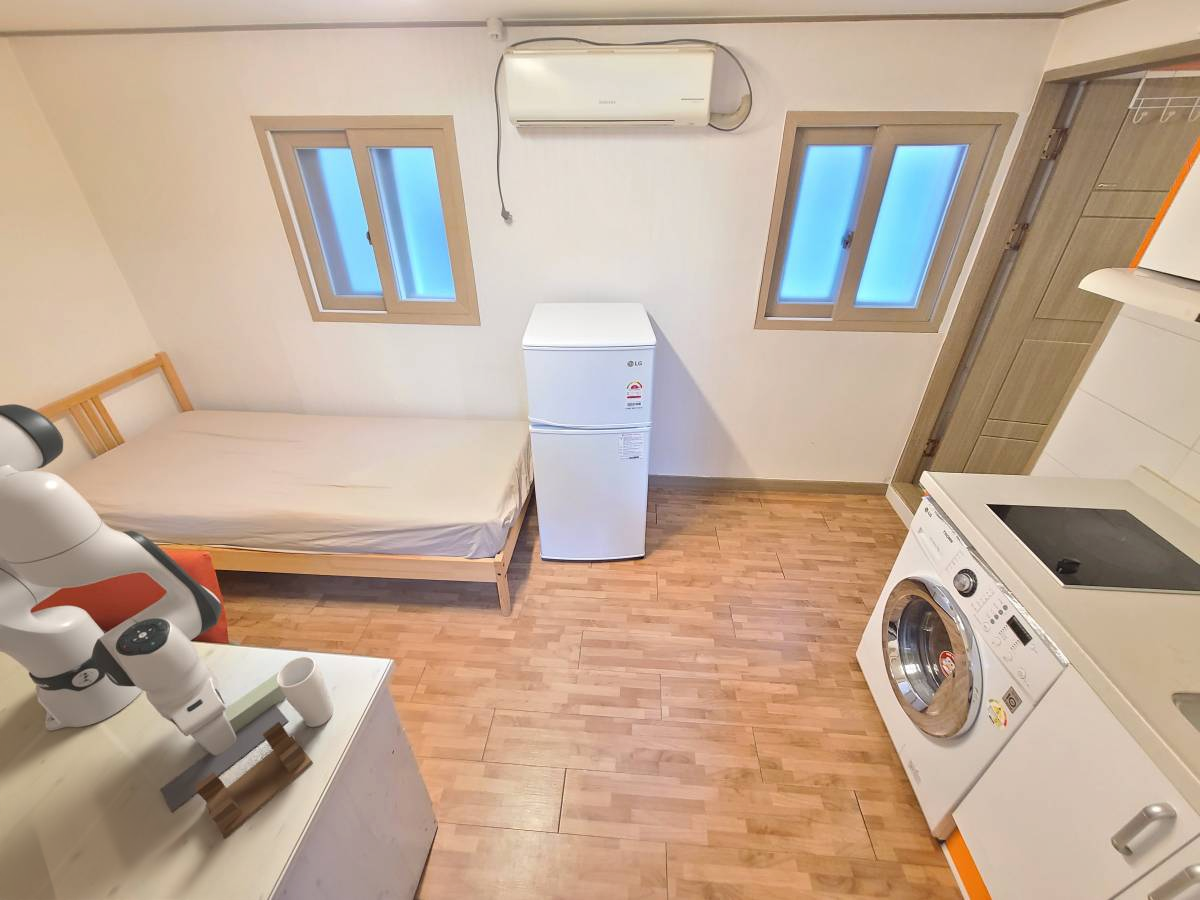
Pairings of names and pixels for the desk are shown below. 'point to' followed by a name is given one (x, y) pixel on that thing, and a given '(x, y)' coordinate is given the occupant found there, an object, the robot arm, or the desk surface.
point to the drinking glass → (306, 690)
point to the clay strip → (253, 704)
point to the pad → (221, 758)
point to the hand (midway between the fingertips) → (217, 731)
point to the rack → (254, 782)
